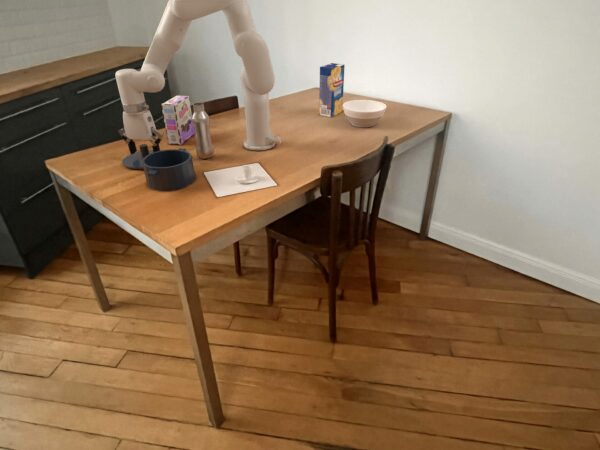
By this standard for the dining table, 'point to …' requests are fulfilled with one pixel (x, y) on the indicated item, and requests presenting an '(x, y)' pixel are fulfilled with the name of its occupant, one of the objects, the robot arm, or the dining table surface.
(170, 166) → the dark blue cooking pot
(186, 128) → the candy box
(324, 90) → the blue cardboard box
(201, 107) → the metal water bottle
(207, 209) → the dining table surface
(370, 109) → the bowl
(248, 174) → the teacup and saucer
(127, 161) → the lid
